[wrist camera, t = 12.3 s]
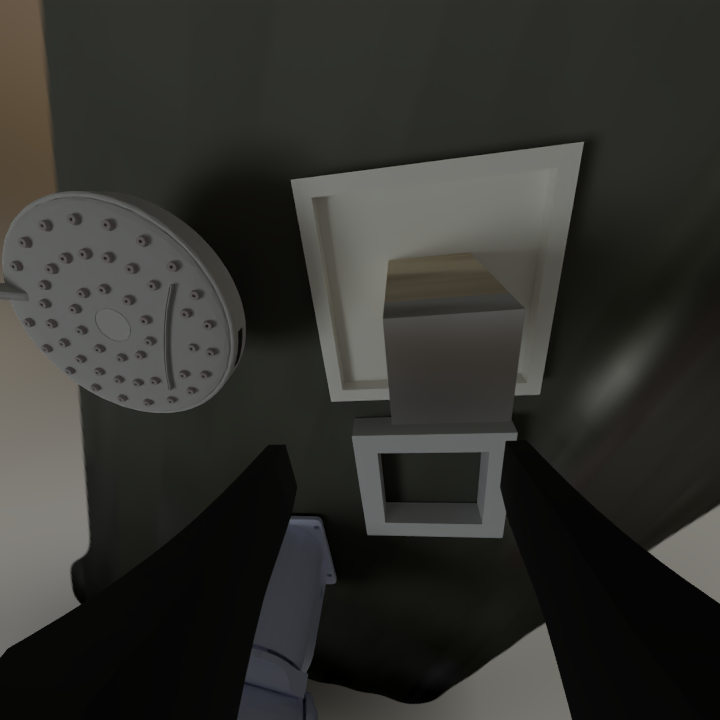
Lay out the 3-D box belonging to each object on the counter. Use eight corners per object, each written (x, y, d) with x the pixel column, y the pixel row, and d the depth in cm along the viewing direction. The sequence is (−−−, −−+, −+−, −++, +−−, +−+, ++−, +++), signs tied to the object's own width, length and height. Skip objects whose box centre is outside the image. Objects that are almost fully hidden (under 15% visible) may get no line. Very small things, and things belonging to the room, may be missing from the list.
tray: (530, 380, 20) (539, 394, 19) (335, 387, 22) (331, 401, 20) (567, 145, 14) (583, 141, 13) (299, 179, 16) (290, 179, 15)
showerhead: (-88, 143, 10) (235, 247, 11) (99, 156, 16) (295, 221, 17) (-8, 387, 15) (214, 451, 15) (114, 324, 21) (268, 371, 22)
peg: (467, 327, 18) (511, 421, 11) (393, 332, 19) (391, 424, 12) (470, 252, 16) (525, 308, 9) (388, 260, 17) (382, 318, 10)
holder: (495, 516, 26) (502, 537, 24) (369, 514, 27) (367, 534, 26) (508, 413, 21) (517, 432, 20) (354, 418, 23) (351, 436, 21)
